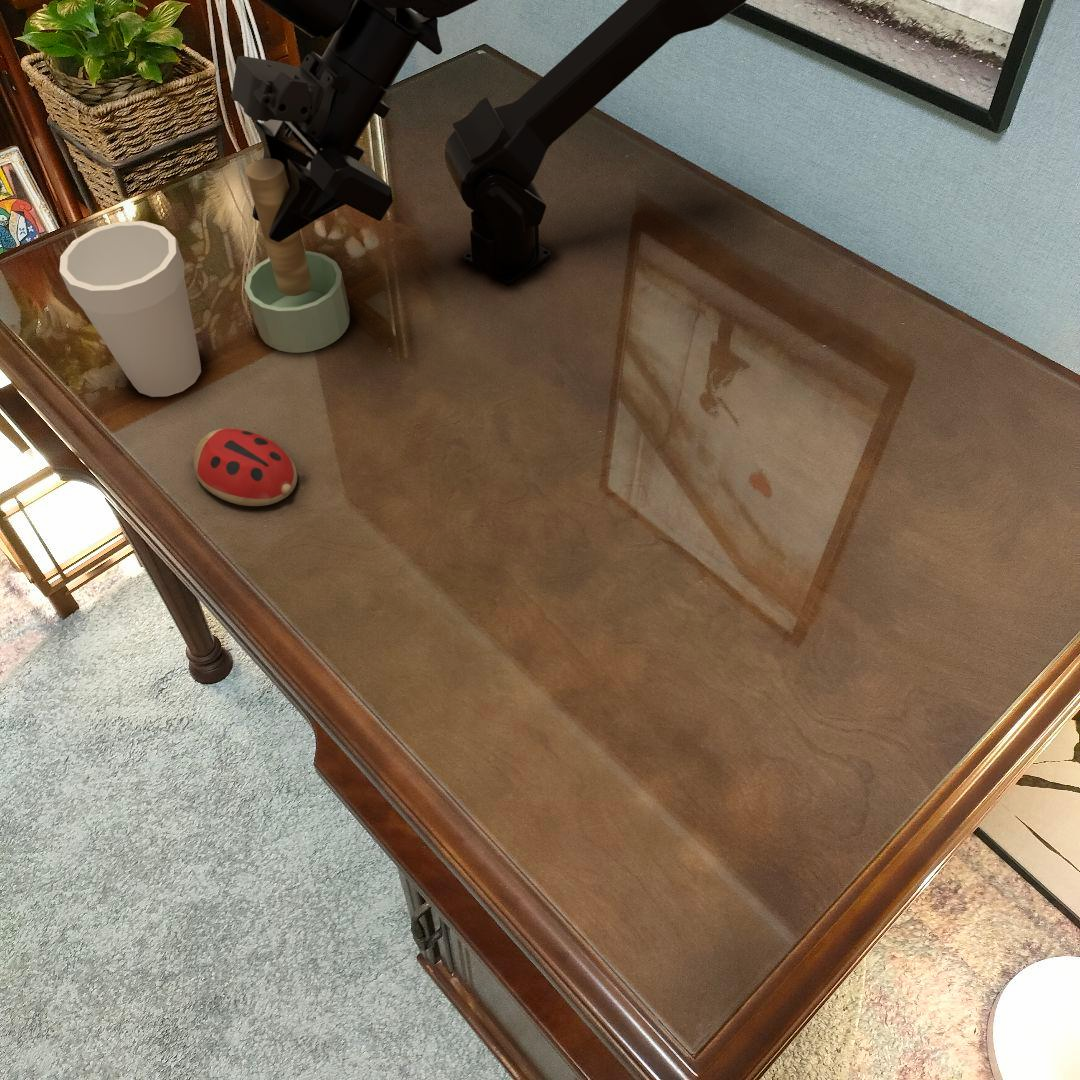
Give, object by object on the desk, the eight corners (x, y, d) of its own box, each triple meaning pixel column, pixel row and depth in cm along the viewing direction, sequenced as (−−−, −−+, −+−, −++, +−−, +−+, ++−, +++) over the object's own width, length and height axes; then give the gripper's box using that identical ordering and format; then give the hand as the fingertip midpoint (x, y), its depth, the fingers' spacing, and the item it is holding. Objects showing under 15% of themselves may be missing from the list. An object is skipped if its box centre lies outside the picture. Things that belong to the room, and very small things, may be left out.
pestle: (315, 274, 96) (287, 157, 86) (309, 296, 94) (280, 179, 84) (281, 274, 96) (249, 158, 86) (274, 296, 94) (242, 179, 84)
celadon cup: (310, 281, 102) (300, 239, 98) (368, 319, 98) (360, 276, 94) (239, 325, 98) (225, 282, 94) (297, 366, 94) (286, 323, 90)
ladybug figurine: (229, 432, 89) (218, 402, 86) (320, 472, 86) (312, 442, 83) (177, 482, 85) (164, 453, 83) (270, 526, 82) (260, 497, 80)
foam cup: (192, 415, 90) (145, 297, 80) (96, 402, 92) (38, 284, 81) (233, 345, 96) (194, 226, 86) (142, 333, 97) (93, 215, 87)
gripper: (232, -27, 83) (145, 141, 88) (331, 67, 73) (226, 251, 78) (337, 43, 91) (252, 192, 96) (439, 136, 81) (338, 297, 87)
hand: (265, 229), depth 89 cm, fingers closed on pestle, 3 cm apart
